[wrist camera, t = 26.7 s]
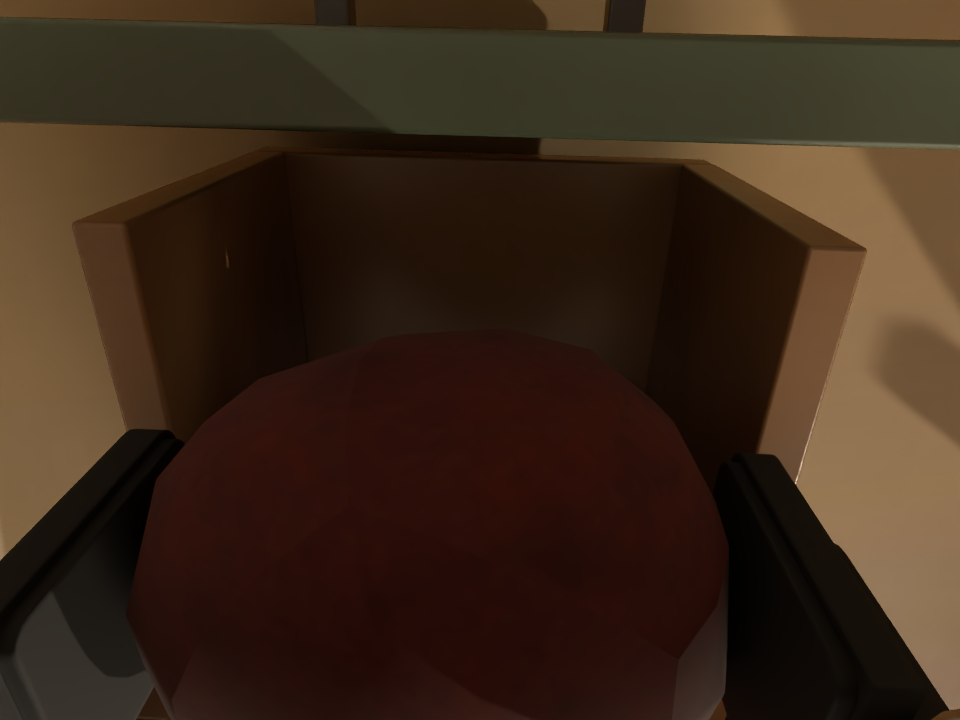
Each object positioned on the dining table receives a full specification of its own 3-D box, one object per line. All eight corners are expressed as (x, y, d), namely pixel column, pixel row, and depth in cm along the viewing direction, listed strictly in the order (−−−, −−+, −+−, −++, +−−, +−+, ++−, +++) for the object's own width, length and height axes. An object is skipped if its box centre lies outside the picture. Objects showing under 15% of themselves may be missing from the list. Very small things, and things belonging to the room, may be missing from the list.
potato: (369, 147, 9) (185, 291, 4) (776, 419, 11) (1025, 769, 6) (186, 476, 12) (-65, 815, 7) (532, 648, 14) (549, 1022, 9)
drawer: (193, -201, 13) (-228, -536, 6) (797, -191, 13) (1208, -535, 5) (289, 490, 21) (167, 733, 13) (664, 507, 21) (752, 766, 13)
